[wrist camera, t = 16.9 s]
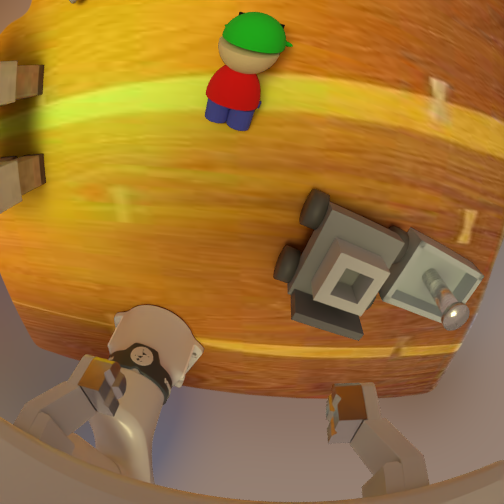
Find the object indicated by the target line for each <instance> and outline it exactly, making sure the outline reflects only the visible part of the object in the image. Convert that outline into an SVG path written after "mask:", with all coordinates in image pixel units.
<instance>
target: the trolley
mask: <svg viewBox="0 0 504 504" xmlns="http://www.w3.org/2000/svg"><path fill="white" fill-rule="evenodd" d="M329 201H330V196H329V195H328V194H326V193H324V192H321V191H319V190H317V189H313V190H312V191H311V192H310V194H309V195H308V197H307V199H306V201H305V203H304V206H303V209H302V212H301V215H300V220H299V222H300V224H301V225H304V226H306V227H309V228H311V229H314V232H313V234H312V236H311V237H310V239H309V241H308V243H307V245H306V247H305V249H304V251H303V253H302V255H301V252H300V250H298V249H295V248H292V247H290V246H287V245H286V246H285V247H284V248H283V250H282V251H281V253H280V256H279V258H278V260H277V263H276V266H275V270H274V279H277V280H280V281H283V282H285V283H288V294H290V295H291V319H292V320H295V321H298V322H301V323H304V324H307V325H310V326H313V327H316V328H319V329H322V330H326V331H329V332H332V333H335V334H338V335H342V336H345V337H348V338H352V339H355V340H358V341H359V340H360V339H361V337H362V336H363V335H364V334H363V330H362V326H361V323H360V319H359V316H361V315H362V314H363V313H364V311H365V310H367V309H368V308H370V306H371V305H372V304H373V302H374V300H375V298H376V295H377V293H378V291H379V290H380V288H381V287H382V285H383V284H384V282H385V281H386V279H387V278H388V276H389V275H390V271H389V268H390V267H391V265H392V263H393V264H396V263H398V262H400V261H401V260H402V259H403V257H404V256H405V254H406V252H407V250H408V246H409V235H408V233H407V232H405V231H403V230H401V229H399V228H397V227H395V226H392V227H390V228H389V229H387V228H385V227H383V226H381V225H379V224H377V223H375V222H373V221H371V220H369V219H366V218H364V217H362V216H360V215H358V214H356V213H354V212H351V211H349V210H347V209H345V208H343V207H340V206H338V205H336V204H334V203H332V202H329ZM300 256H301V257H300ZM358 315H359V316H358Z"/></svg>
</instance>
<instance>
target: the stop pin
mask: <svg viewBox="0 0 504 504" xmlns="http://www.w3.org/2000/svg"><path fill="white" fill-rule="evenodd" d="M422 281H423V283H424V284H425V286H426V288H427V289H428V291H429V292H430V294H431V296H432V297H433V299H434V301H435V302H436V304H437V306H438V307H439V309H440V311H441V313H442V317H441V322H442V324H443V326H444V328H445V329H446V330H455V329H458V328H459V327H461V326H462V325H463V324H464V323H465V322H466V320H467V319H468V317H469V309H468V307H467V306H466V304H465V303H464V302H458V301H457V299H456V298H455V296H454V295H453V293H452V292H451V291H450V289H449V288H448V286H447V285H446V283H445V282H444V281H443V279H442V278H441V276H440V275H439V274H438V272H437V271H436V270H435V269H433V268H431V269H428V270H426V271H425V272H424V273H423V275H422Z"/></svg>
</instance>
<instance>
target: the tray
mask: <svg viewBox="0 0 504 504" xmlns="http://www.w3.org/2000/svg"><path fill="white" fill-rule="evenodd" d="M407 233H408V235H409V246H408V250H407V252H406V254H405V256H404V257H403V259H402V260H401V261H400V262H398V263H396V264H393V263H392V265H391V267H390V268H389V271H390V275H389V276H388V278H387V279H386V281H385V282H384V284H383V285H382V287H381V288H380V290H379V291H378V292H379V294H380V296H381V299H382V301H384V302H387V303H390V304H392V305H395V306H398V307H400V308H403V309H406V310H408V311H411V312H414V313H416V314H419V315H422V316H424V317H427V318H429V319H432V320H435V321H437V322H440V323H442V322H441V317H442V313H441V311H440V309H439V307H438V306H437V304H436V302H435V301H434V299H433V297H432V296H431V294H430V292H429V291H428V289H427V288H426V286H425V284H424V283H423V281H422V275H423V273H424V272H425V271H426V270H428V269H431V268H433V269H435V270H436V271H437V272H438V274H439V275H440V276H441V278H442V279H443V281H444V282H445V283H446V285H447V286H448V288H449V289H450V291H451V292H452V293H453V295H454V296H455V298H456V299H457V301H458V302H464V303H466V302H467V300H468V299H469V298H470V296H471V295H472V293H473V292H474V291H475V289H476V288H477V286H478V285H479V283H480V282H481V280H482V279H483V277H484V275H483V274H482V273H481V272H480V271H479V270H478V268H477V267H476V266H475V265H474V264H473V263H472V262H470V261H469V260H467V259H465V258H464V257H462V256H460V255H459V254H457V253H455V252H454V251H452V250H450V249H449V248H447V247H445V246H443V245H442V244H440V243H438V242H436V241H435V240H433V239H431V238H429V237H428V236H426V235H424V234H422V233H420V232H418V231H417V230H415V229H413V228H411V227H410V229H409V231H408V232H407Z"/></svg>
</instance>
